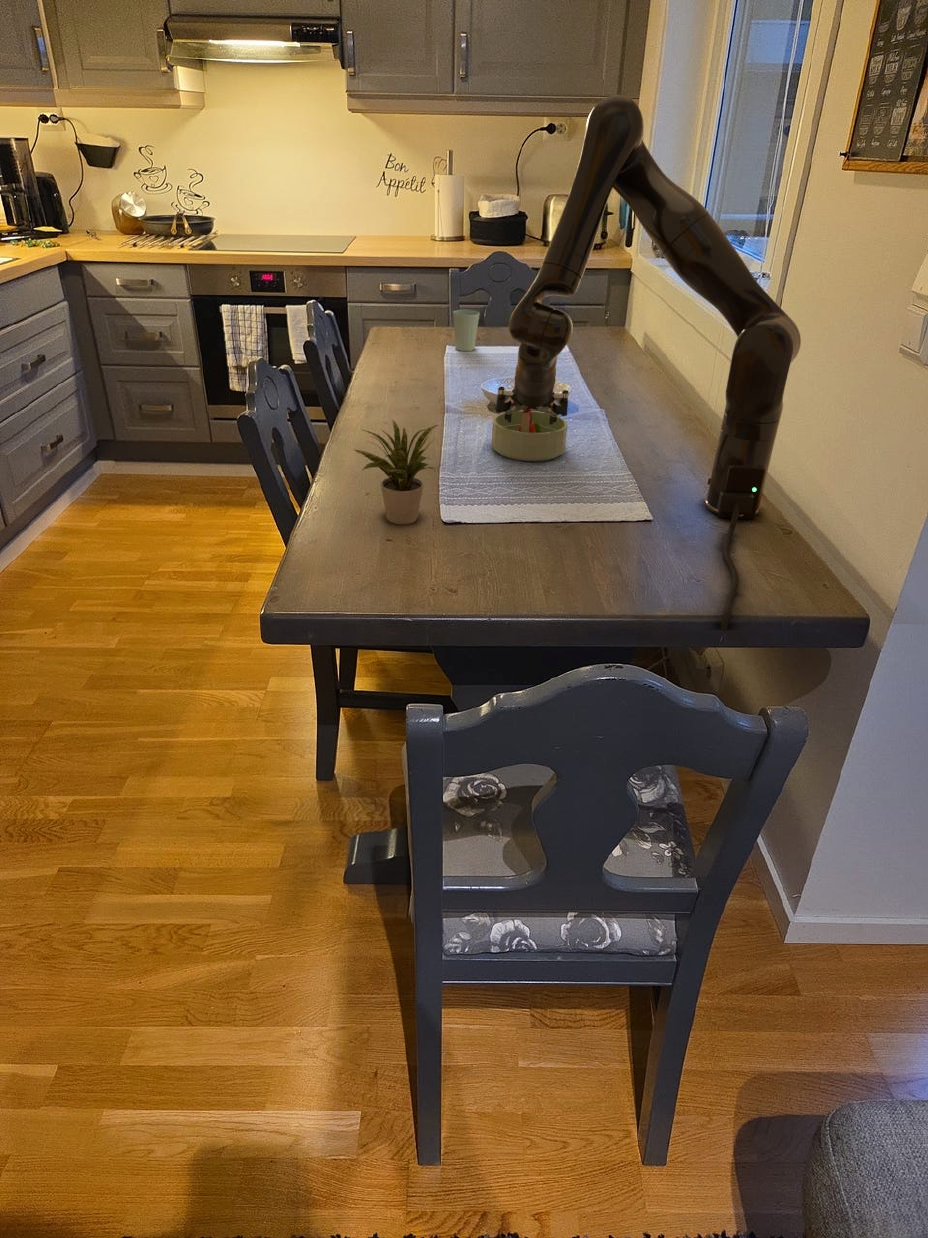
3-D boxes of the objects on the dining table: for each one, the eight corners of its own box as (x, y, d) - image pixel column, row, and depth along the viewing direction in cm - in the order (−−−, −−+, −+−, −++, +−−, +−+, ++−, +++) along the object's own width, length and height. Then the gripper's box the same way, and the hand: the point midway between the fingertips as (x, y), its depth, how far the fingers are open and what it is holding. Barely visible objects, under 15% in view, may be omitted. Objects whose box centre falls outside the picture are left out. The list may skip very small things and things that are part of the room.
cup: (446, 349, 246) (448, 312, 241) (459, 344, 252) (461, 308, 247) (469, 353, 243) (471, 315, 238) (482, 348, 249) (484, 311, 244)
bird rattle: (541, 461, 173) (543, 431, 178) (545, 419, 163) (547, 389, 169) (511, 459, 173) (514, 429, 178) (513, 417, 164) (516, 387, 169)
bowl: (565, 464, 167) (568, 435, 164) (489, 460, 168) (491, 430, 165) (563, 439, 180) (565, 412, 177) (492, 435, 181) (494, 408, 178)
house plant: (403, 492, 152) (403, 403, 143) (462, 514, 144) (465, 421, 136) (346, 515, 142) (342, 421, 134) (405, 539, 135) (406, 442, 126)
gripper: (573, 362, 157) (565, 404, 173) (498, 358, 157) (496, 400, 173) (572, 398, 155) (564, 438, 171) (495, 393, 156) (494, 433, 171)
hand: (530, 419), depth 172 cm, fingers open, 8 cm apart
